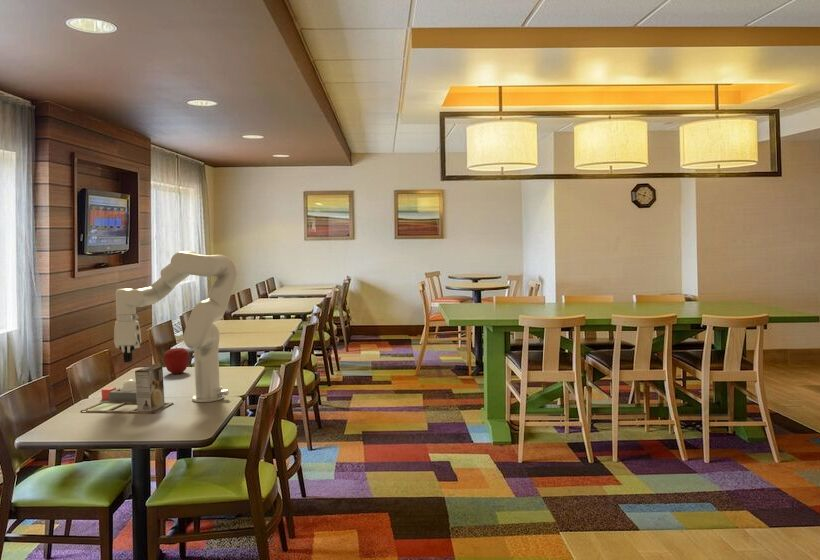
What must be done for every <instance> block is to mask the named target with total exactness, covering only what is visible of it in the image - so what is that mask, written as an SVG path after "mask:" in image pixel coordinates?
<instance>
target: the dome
mask: <svg viewBox="0 0 820 560" xmlns="http://www.w3.org/2000/svg"><path fill="white" fill-rule="evenodd" d="M119 388H120V391H129V392H134V391H136V379H131V378H130V379H127V380H125V381H124V382H123V383H122V386H119Z"/></svg>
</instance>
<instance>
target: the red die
mask: <svg viewBox="0 0 820 560" xmlns="http://www.w3.org/2000/svg"><path fill="white" fill-rule="evenodd" d="M116 389H117V387H111V386H110V387H105V388H102V389H101V400H109V392H111V391H113V390H116Z"/></svg>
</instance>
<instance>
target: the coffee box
mask: <svg viewBox="0 0 820 560" xmlns="http://www.w3.org/2000/svg"><path fill="white" fill-rule="evenodd" d="M134 373H135V375H134V376H135V378H134V379H135V381H136V393H137V404H136V405H137V406H136V408H137V409H138V410H137V411H155V410H157V409H159V408H161V407H163V406H165V403H166V402H165V401H166V400H165V387H164V372H163V365H161V366H160V365H159V366H158V365H153V366H151V365H150V366H149V365H148V366H145V367H143V368H140V369H136V370H135V371H134Z"/></svg>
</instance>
